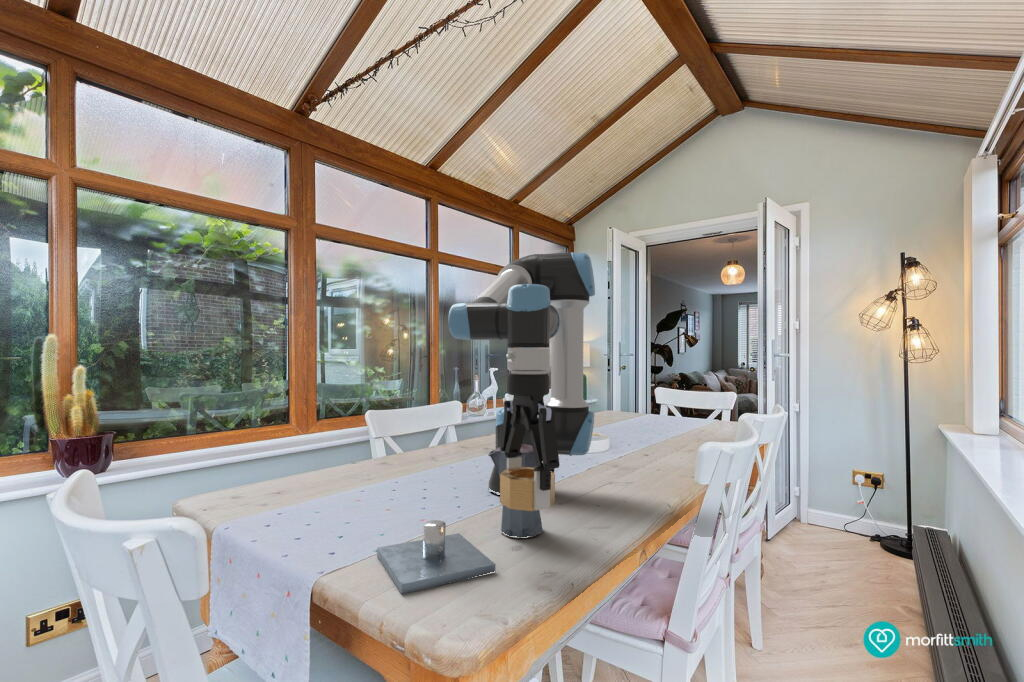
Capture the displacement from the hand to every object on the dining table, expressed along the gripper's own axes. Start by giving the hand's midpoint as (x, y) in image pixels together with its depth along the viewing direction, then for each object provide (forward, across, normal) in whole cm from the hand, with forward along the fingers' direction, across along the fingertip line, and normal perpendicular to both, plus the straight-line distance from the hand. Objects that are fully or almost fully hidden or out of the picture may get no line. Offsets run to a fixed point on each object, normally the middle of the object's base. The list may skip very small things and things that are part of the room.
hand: (527, 500), depth 85 cm
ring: (0, 0, 0) cm, 0 cm away
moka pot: (+12, -15, +8) cm, 20 cm away
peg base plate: (+11, -8, -14) cm, 20 cm away
